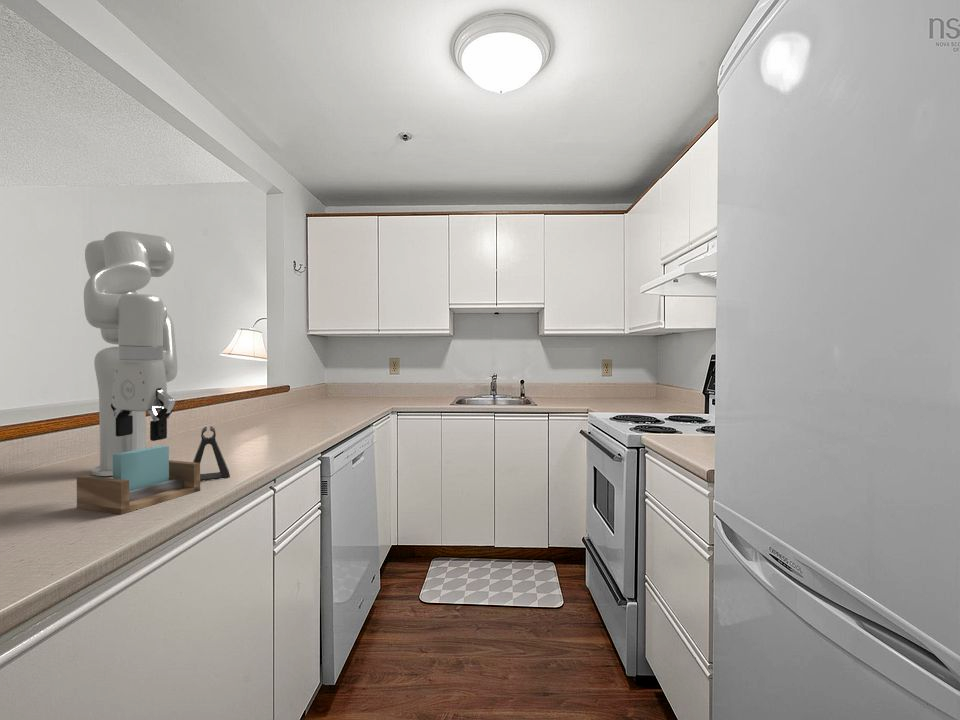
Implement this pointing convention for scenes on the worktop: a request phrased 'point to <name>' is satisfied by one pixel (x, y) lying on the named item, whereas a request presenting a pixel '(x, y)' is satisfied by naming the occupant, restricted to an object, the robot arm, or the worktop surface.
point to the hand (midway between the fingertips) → (141, 437)
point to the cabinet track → (136, 490)
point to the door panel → (142, 466)
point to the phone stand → (219, 458)
